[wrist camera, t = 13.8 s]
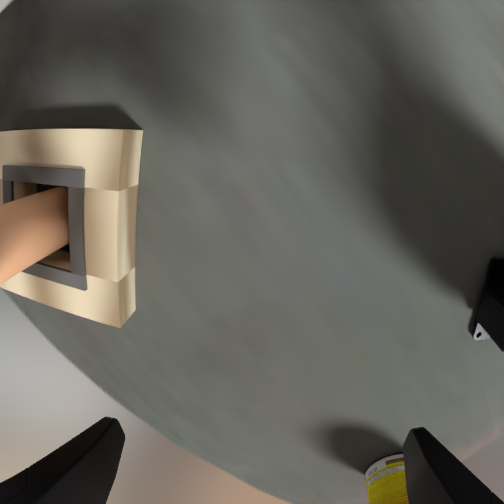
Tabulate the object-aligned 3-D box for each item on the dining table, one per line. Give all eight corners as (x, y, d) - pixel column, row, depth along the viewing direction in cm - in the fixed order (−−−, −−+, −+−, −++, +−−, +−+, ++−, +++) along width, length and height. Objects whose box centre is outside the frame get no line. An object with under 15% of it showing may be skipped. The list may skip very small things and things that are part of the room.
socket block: (143, 130, 17) (120, 129, 14) (135, 309, 21) (118, 330, 19) (11, 130, 18) (-14, 133, 15) (17, 274, 22) (-3, 288, 19)
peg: (68, 175, 18) (-81, 224, 7) (94, 226, 19) (-44, 310, 8) (36, 203, 19) (-94, 260, 8) (60, 250, 20) (-62, 331, 9)
